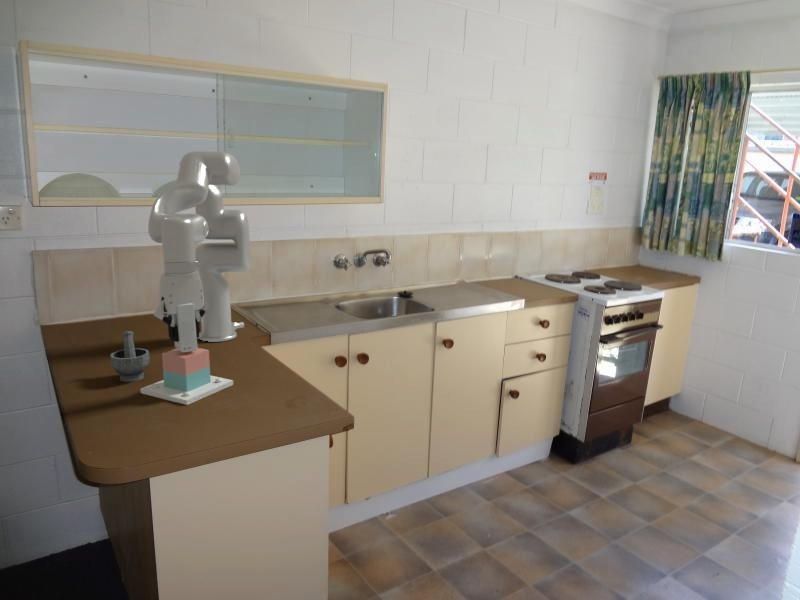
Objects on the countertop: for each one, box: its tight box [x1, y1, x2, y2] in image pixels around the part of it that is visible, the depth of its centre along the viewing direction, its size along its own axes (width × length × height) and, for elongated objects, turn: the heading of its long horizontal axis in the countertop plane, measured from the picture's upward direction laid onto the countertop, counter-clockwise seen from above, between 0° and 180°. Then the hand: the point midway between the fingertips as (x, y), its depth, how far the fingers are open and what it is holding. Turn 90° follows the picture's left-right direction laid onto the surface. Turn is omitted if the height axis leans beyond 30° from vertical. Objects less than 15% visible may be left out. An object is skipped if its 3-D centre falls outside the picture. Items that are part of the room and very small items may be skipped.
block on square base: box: [139, 347, 234, 406], centre depth 156 cm, size 16×16×10 cm
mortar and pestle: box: [110, 330, 150, 383], centre depth 164 cm, size 11×9×12 cm
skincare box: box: [173, 304, 199, 352], centre depth 154 cm, size 6×4×12 cm
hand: (184, 337), depth 155 cm, fingers closed on skincare box, 4 cm apart
